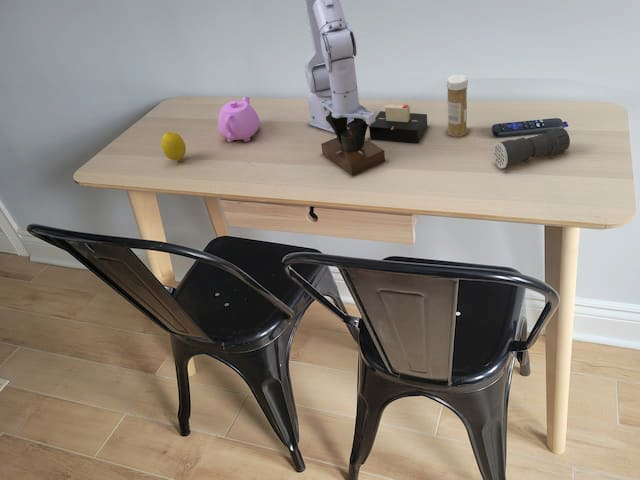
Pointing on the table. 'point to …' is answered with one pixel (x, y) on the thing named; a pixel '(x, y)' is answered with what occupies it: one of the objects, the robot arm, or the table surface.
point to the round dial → (347, 140)
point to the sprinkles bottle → (457, 105)
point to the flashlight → (530, 147)
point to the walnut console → (353, 156)
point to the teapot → (238, 120)
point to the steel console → (398, 128)
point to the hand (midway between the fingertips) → (351, 144)
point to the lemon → (173, 146)
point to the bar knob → (397, 113)
